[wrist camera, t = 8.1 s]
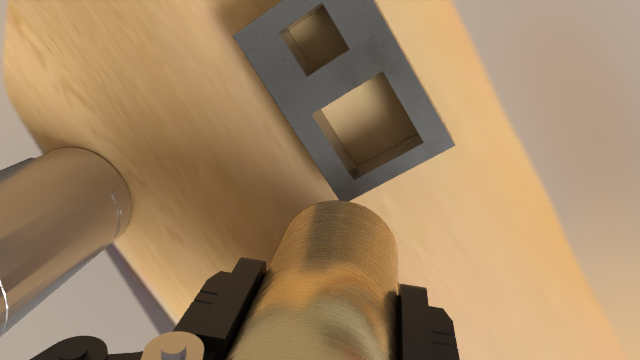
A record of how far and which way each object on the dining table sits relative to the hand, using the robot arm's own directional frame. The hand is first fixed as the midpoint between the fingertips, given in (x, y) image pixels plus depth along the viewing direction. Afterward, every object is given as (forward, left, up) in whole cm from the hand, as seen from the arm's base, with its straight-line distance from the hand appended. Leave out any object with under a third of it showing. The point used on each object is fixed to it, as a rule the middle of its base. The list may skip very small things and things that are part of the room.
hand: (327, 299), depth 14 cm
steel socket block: (-2, +2, -23) cm, 23 cm away
